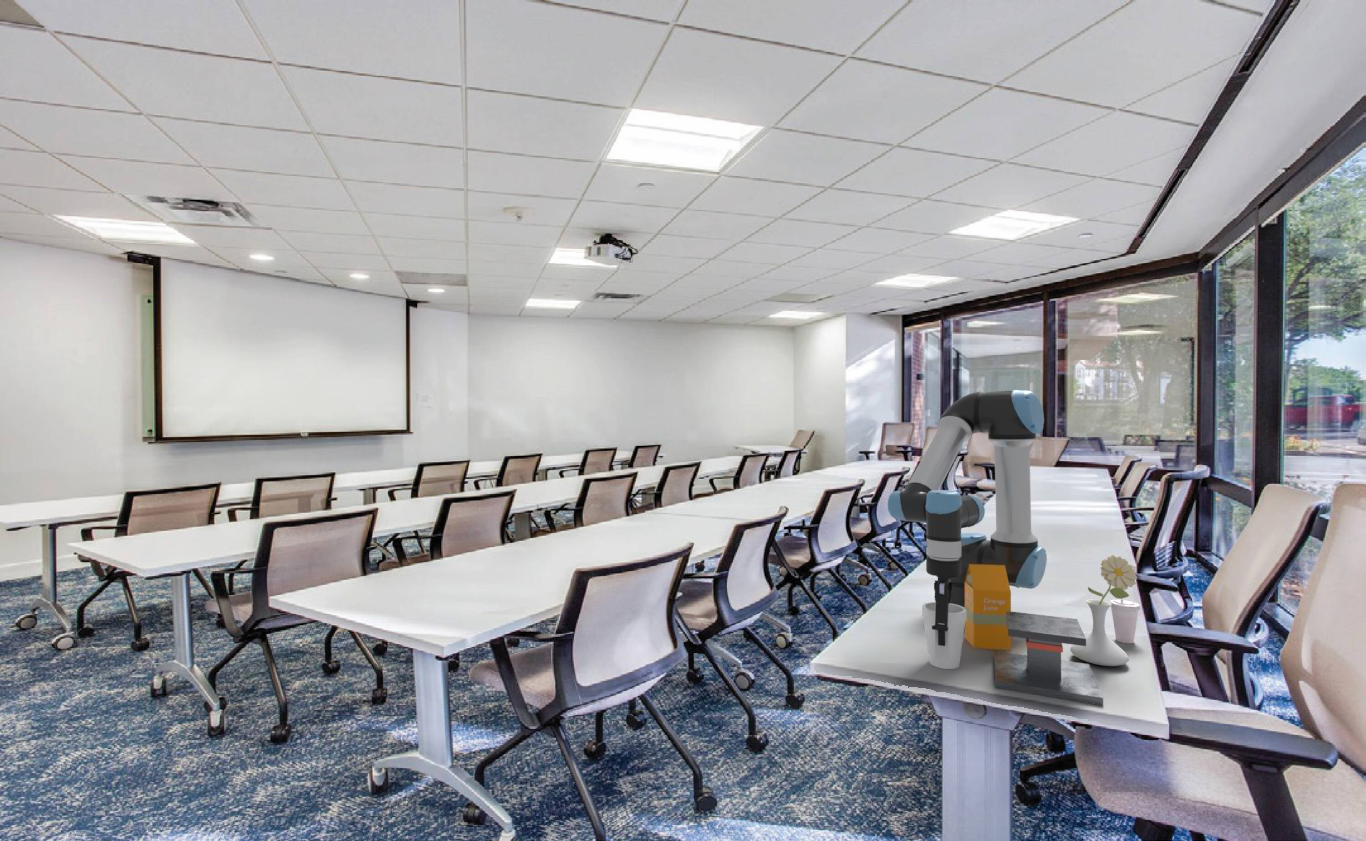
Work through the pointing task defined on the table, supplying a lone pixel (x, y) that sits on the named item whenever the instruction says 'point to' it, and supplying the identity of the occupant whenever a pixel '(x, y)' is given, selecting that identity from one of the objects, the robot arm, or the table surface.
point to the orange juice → (987, 606)
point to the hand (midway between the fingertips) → (943, 649)
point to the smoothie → (1124, 619)
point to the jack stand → (1046, 660)
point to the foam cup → (955, 633)
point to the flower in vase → (1097, 642)
